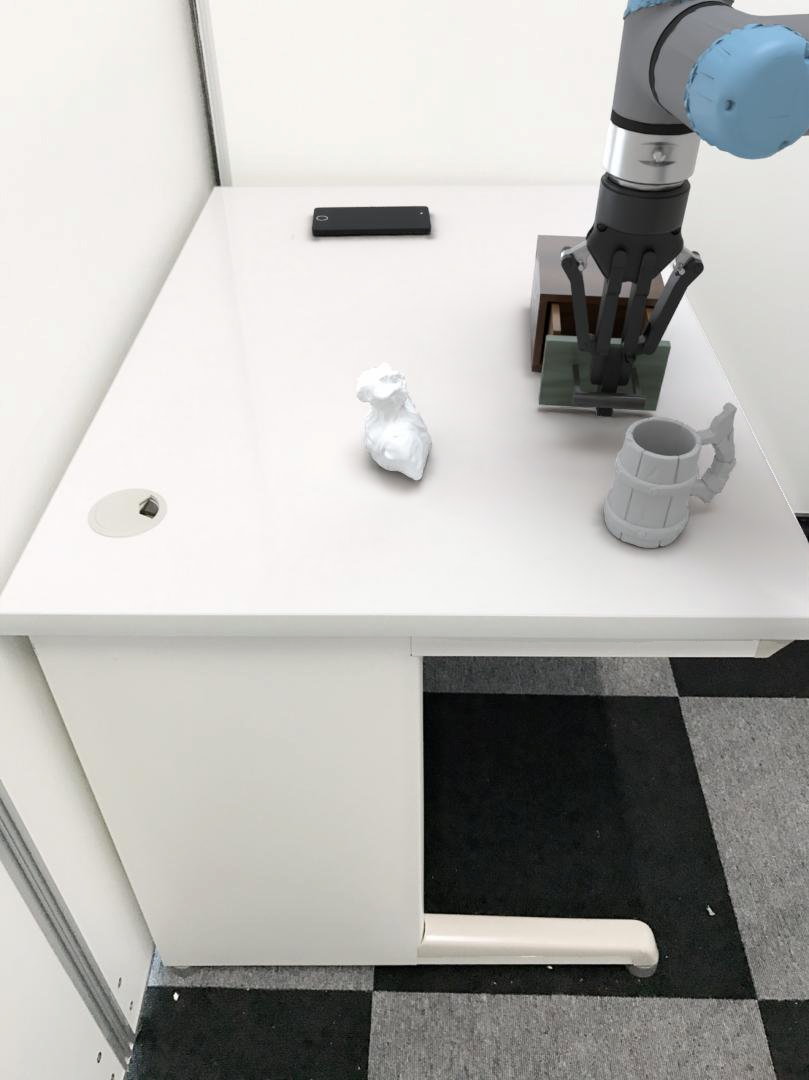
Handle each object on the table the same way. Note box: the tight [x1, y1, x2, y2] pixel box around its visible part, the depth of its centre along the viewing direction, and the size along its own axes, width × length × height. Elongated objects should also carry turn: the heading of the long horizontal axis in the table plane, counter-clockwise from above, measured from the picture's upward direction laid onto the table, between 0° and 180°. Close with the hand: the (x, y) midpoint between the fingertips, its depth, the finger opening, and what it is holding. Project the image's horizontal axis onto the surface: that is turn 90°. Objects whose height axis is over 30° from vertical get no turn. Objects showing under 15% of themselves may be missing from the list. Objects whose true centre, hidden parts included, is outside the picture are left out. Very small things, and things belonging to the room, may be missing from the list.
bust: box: [355, 362, 433, 481], centre depth 84 cm, size 12×8×11 cm
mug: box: [603, 402, 738, 549], centre depth 76 cm, size 8×12×12 cm, turn 106°
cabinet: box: [529, 234, 665, 373], centre depth 102 cm, size 16×14×10 cm
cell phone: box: [311, 205, 432, 236], centre depth 131 cm, size 9×18×1 cm, turn 92°
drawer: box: [538, 301, 672, 412], centre depth 92 cm, size 21×13×8 cm, turn 174°
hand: (603, 409), depth 88 cm, fingers closed
